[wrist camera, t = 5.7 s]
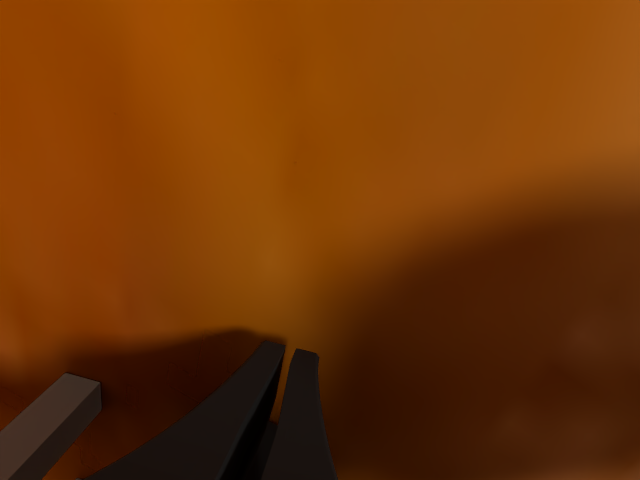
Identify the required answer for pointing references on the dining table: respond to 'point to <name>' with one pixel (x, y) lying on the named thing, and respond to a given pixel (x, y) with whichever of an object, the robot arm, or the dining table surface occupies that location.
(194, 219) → the dining table surface
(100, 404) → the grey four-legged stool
